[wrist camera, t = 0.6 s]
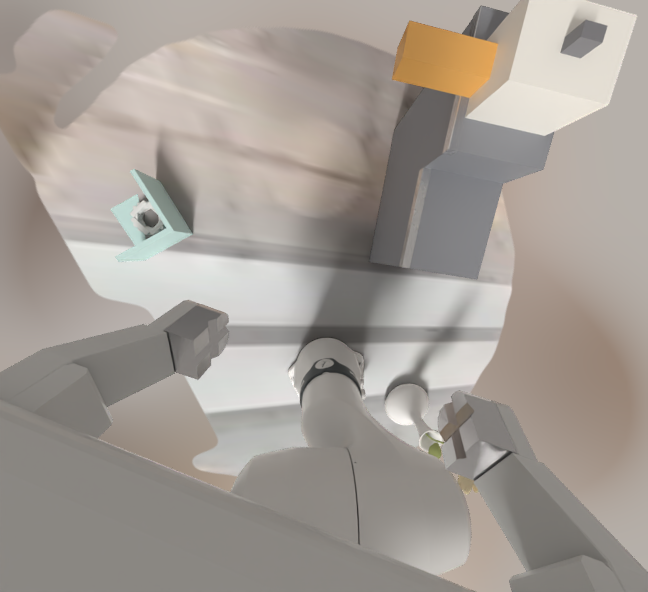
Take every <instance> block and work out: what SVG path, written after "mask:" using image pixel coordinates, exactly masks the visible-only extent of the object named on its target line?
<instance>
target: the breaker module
mask: <svg viewBox="0 0 648 592" xmlns="http://www.w3.org/2000/svg"><path fill="white" fill-rule="evenodd" d="M636 18H637V15H634V14H631V13H628V12H624V11H620V10H617V9H614V8H610V7H607V6H603V5H600V4H596V3H593V2H590V1H586V0H520V1H519V3H518V4H517V5H516V6H515V7H514V8H513V10H512V11H511V12H510V13H509V14H508V16H507V17H506V18H505V19H504V20H503V21H502V23H501V24H500V25H499V26H498V27H497V29H496V30H495V31H494V32H493V33H492V35H491V36H490V37H489V38H488V39H487V40H482V39H478V38H474V37H471V36H467V35H463V34H459V33H455V32H451V31H448V30H444V29H440V28H436V27H432V26H428V25H425V24H421V23H417V22H413V21H409V23H408V25H407V28H406V30H405V32H404V34H403V37H402V39H401V41H400V43H399V46H398V50H397V54H396V60H395V65H394V71H393V76H392V80H396V81H400V82H404V83H409V84H413V85H417V86H421V87H426V88H430V89H434V90H438V91H442V92H447V93H451V94H455V95H459V96H464V97H468V98H469V102H468V107H467V111H466V115H465V118H468V119H473V120H477V121H482V122H486V123H490V124H495V125H499V126H504V127H508V128H512V129H517V130H521V131H525V132H530V133H534V134H539V135H543V136H546V135H548V134H550V133H552V132H554V131H556V130H558V129H560V128H562V127H564V126H566V125H568V124H570V123H572V122H574V121H576V120H578V119H580V118H582V117H585V116H587V115H589V114H591V113H593V112H594V111H597V110H599V109H601V108H603V107H605V106H607V105H609V102H610V99H611V96H612V92H613V89H614V86H615V83H616V80H617V77H618V74H619V71H620V68H621V65H622V62H623V58H624V55H625V52H626V49H627V46H628V43H629V40H630V37H631V34H632V31H633V27H634V24H635V22H636Z"/></svg>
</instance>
